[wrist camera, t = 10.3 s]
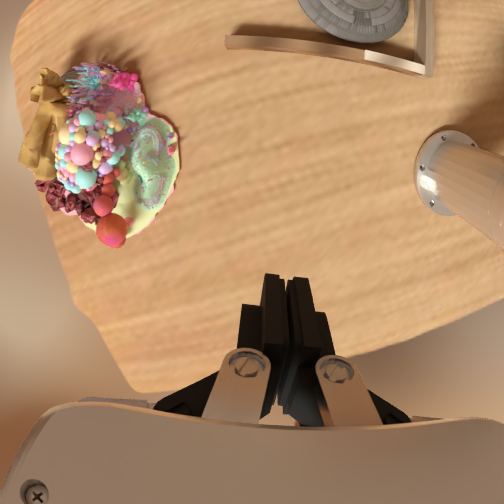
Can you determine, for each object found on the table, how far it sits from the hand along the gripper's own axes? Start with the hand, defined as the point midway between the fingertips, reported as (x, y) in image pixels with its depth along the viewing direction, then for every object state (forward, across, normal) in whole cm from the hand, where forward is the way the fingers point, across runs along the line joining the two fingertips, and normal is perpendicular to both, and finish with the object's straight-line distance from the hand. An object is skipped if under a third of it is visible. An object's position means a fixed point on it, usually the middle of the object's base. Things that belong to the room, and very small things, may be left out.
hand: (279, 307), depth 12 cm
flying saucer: (+30, -8, -25) cm, 40 cm away
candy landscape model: (+30, +24, -1) cm, 38 cm away
